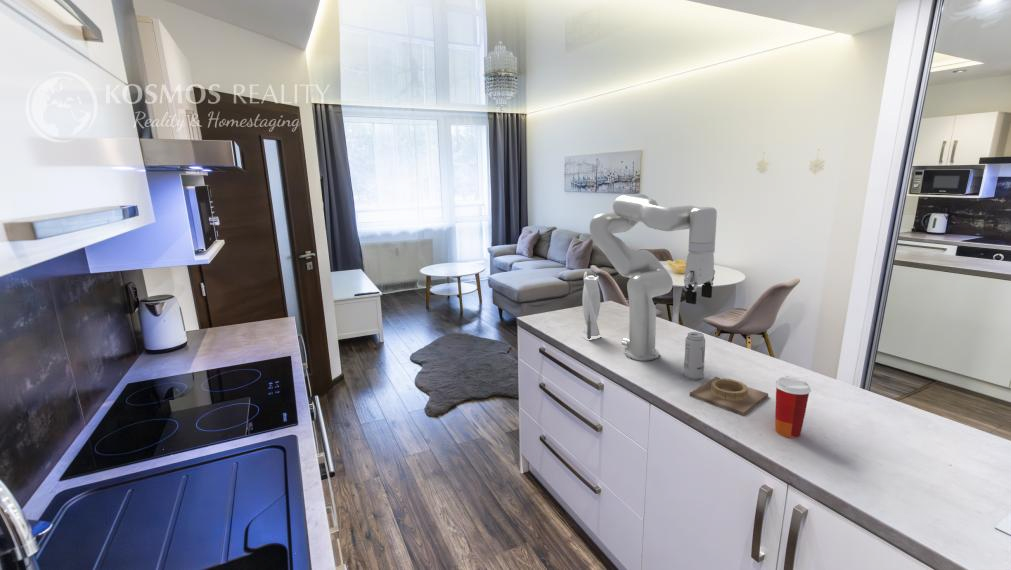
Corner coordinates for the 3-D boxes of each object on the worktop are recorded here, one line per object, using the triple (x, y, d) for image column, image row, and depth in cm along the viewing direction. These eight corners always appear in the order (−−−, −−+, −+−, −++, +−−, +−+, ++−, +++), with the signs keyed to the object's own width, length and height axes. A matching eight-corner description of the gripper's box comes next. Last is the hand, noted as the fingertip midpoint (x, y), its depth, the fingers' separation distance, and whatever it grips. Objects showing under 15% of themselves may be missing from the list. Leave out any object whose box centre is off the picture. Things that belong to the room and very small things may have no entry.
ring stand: (689, 395, 135) (690, 385, 134) (715, 379, 145) (716, 369, 144) (743, 415, 123) (744, 404, 122) (768, 396, 132) (769, 385, 131)
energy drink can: (701, 382, 143) (704, 338, 140) (682, 378, 147) (684, 336, 143) (704, 374, 148) (707, 332, 145) (685, 371, 151) (687, 330, 148)
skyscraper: (577, 335, 192) (576, 272, 185) (592, 331, 195) (592, 269, 188) (588, 340, 184) (588, 275, 178) (604, 337, 187) (604, 273, 181)
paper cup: (800, 426, 117) (806, 377, 113) (809, 442, 110) (815, 391, 106) (766, 422, 119) (771, 374, 116) (773, 437, 112) (778, 387, 109)
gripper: (703, 243, 145) (701, 293, 149) (675, 250, 135) (673, 303, 139) (726, 244, 140) (723, 296, 143) (698, 252, 129) (696, 308, 133)
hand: (698, 300), depth 141 cm, fingers open, 9 cm apart
